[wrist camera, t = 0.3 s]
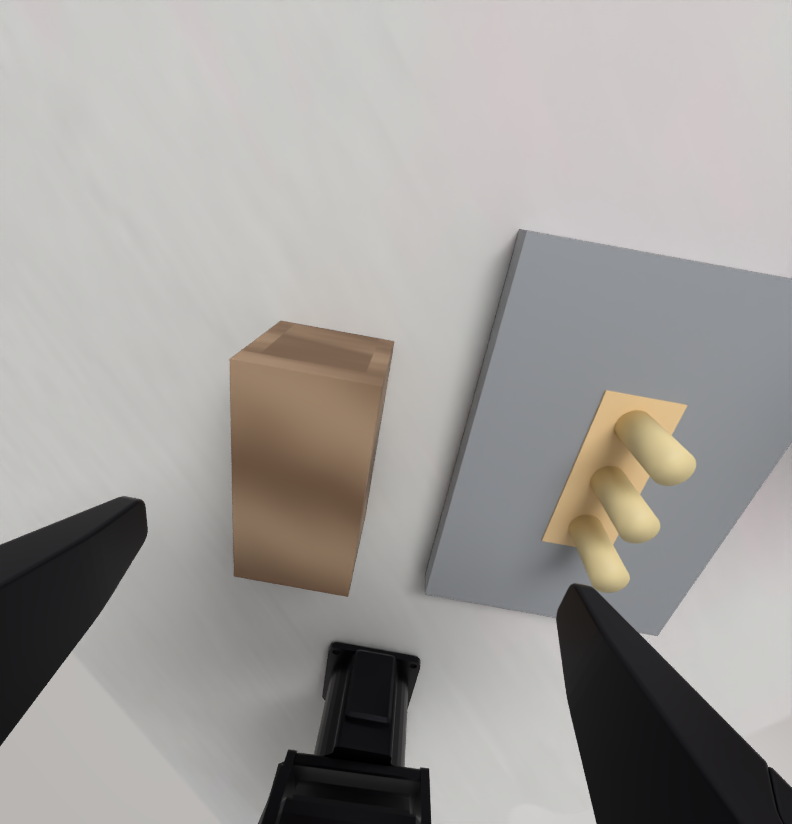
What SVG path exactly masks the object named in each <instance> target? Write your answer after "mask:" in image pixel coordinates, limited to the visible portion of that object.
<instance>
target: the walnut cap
mask: <svg viewBox="0 0 792 824" xmlns="http://www.w3.org/2000/svg"><path fill="white" fill-rule="evenodd" d="M393 346H394V341H389V340H384V339H378V338H373V337H367V336H362V335H356V334H351V333H345V332H340V331H334V330H329V329H323V328H318V327H312V326H307V325H301V324H296V323H290V322H285V321H280V322H279V323H277V324H276V325H275V326H273V327H272V328H271V329H269V330H268V331H266V332H265V333H264V334H262V335H261V336H260V337H258V338H257V339H256V340H254V341H253V342H252V343H250V344H249V345H248V346H246V347H245V348H244V349H242V350H241V351H240V352H238V353H237V354H236V355H234V356H233V357H232V358H230V403H231V454H232V504H233V554H234V576H235V577H241V578H246V579H252V580H257V581H263V582H268V583H274V584H280V585H285V586H291V587H296V588H302V589H308V590H313V591H319V592H324V593H330V594H335V595H341V596H347V597H348V595H349V590H350V585H351V581H352V576H353V571H354V567H355V562H356V557H357V553H358V548H359V543H360V539H361V534H362V529H363V525H364V520H365V515H366V509H367V503H368V497H369V491H370V485H371V479H372V472H373V466H374V460H375V454H376V448H377V442H378V436H379V430H380V424H381V418H382V412H383V406H384V400H385V394H386V388H387V382H388V376H389V370H390V364H391V358H392V352H393Z"/></svg>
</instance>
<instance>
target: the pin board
mask: <svg viewBox="0 0 792 824" xmlns="http://www.w3.org/2000/svg"><path fill="white" fill-rule="evenodd" d="M791 442H792V279H790V278H785V277H779V276H774V275H768V274H763V273H757V272H752V271H746V270H741V269H735V268H730V267H724V266H719V265H713V264H708V263H702V262H697V261H691V260H686V259H680V258H675V257H669V256H664V255H659V254H653V253H648V252H642V251H637V250H631V249H626V248H620V247H615V246H609V245H604V244H598V243H593V242H587V241H582V240H576V239H571V238H565V237H560V236H554V235H549V234H543V233H538V232H532V231H527V230H521V229H519V233H518V236H517V240H516V244H515V247H514V251H513V255H512V259H511V262H510V266H509V270H508V273H507V277H506V281H505V284H504V288H503V292H502V295H501V299H500V303H499V306H498V310H497V314H496V317H495V321H494V325H493V328H492V332H491V336H490V339H489V343H488V347H487V350H486V354H485V358H484V361H483V365H482V369H481V372H480V376H479V380H478V383H477V387H476V391H475V394H474V398H473V402H472V405H471V409H470V413H469V416H468V420H467V424H466V427H465V431H464V435H463V438H462V442H461V446H460V449H459V453H458V457H457V460H456V464H455V468H454V471H453V475H452V479H451V482H450V486H449V490H448V493H447V497H446V501H445V504H444V508H443V512H442V515H441V519H440V523H439V526H438V530H437V534H436V537H435V541H434V545H433V548H432V552H431V556H430V559H429V563H428V567H427V570H426V574H425V594H426V595H431V596H437V597H442V598H448V599H453V600H459V601H465V602H470V603H476V604H481V605H487V606H492V607H498V608H504V609H509V610H515V611H520V612H526V613H532V614H537V615H543V616H548V617H554V618H556V615H557V610H558V607H559V605H560V603H561V601H562V599H563V597H564V595H565V593H566V591H567V589H568V587H569V586H570V585H571V584H573V583H577V584H583V585H588V586H591V587H593V588H594V589H595V590H597V591H598V592H599V593H600V594H601V595H602V596H603V598H604V599H605V600H606V601H607V602H608V603H609V604H610V605H611V606H612V607H613V608H614V609H615V610H616V611H617V612H618V613H619V614H620V615H621V616H622V617H623V618H624V619H625V620H626V621H627V622H628V623H629V624H630V625H631V626H632V627H633V628H634V629H635V630H636V631H637V632H638V633H643V634H649V635H654V636H658V635H659V633H660V632H661V630H662V629H663V627H664V626H665V624H666V623H667V622H668V620H669V619H670V617H671V616H672V614H673V613H674V611H675V610H676V609H677V607H678V606H679V604H680V603H681V601H682V600H683V598H684V597H685V596H686V594H687V593H688V591H689V590H690V588H691V587H692V585H693V584H694V583H695V581H696V580H697V578H698V577H699V575H700V574H701V572H702V571H703V569H704V568H705V567H706V565H707V564H708V562H709V561H710V559H711V558H712V556H713V555H714V554H715V552H716V551H717V549H718V548H719V546H720V545H721V543H722V542H723V541H724V539H725V538H726V536H727V535H728V533H729V532H730V530H731V529H732V528H733V526H734V525H735V523H736V522H737V520H738V519H739V517H740V516H741V515H742V513H743V512H744V510H745V509H746V507H747V506H748V504H749V503H750V502H751V500H752V499H753V497H754V496H755V494H756V493H757V491H758V490H759V489H760V487H761V486H762V484H763V483H764V481H765V480H766V478H767V477H768V476H769V474H770V473H771V471H772V470H773V468H774V467H775V465H776V464H777V463H778V461H779V460H780V458H781V457H782V455H783V454H784V452H785V451H786V450H787V448H788V447H789V445H790V444H791Z"/></svg>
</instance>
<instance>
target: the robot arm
mask: <svg viewBox="0 0 792 824" xmlns="http://www.w3.org/2000/svg"><path fill="white" fill-rule="evenodd" d="M147 532H148V527H147V517H146V507H145V503H144V501H143V500H141V499H137V498H132V497H127V496H122V497H118V498H116V499H113V500H111V501H108V502H106V503H103V504H101V505H98V506H96V507H93V508H91V509H88V510H86V511H83V512H81V513H78V514H76V515H73V516H71V517H68V518H66V519H63V520H61V521H58V522H56V523H53V524H51V525H48V526H46V527H43V528H41V529H38V530H36V531H33V532H31V533H28V534H26V535H23V536H21V537H18V538H16V539H13V540H11V541H8V542H6V543H3V544H1V545H0V746H1V745H2V743H3V742H4V741H5V739H6V738H7V737H8V735H9V734H10V732H11V731H12V730H13V728H14V727H15V726H16V725H17V723H18V722H19V721H20V719H21V718H22V717H23V715H24V714H25V713H26V711H27V710H28V709H29V707H30V706H31V705H32V703H33V702H34V701H35V699H36V698H37V697H38V695H39V694H40V693H41V691H42V690H43V689H44V687H45V686H46V685H47V683H48V682H49V681H50V679H51V678H52V677H53V675H54V674H55V673H56V671H57V670H58V669H59V667H60V666H61V665H62V663H63V662H64V661H65V659H66V658H67V657H68V655H69V654H70V653H71V651H72V650H73V649H74V647H75V646H76V645H77V643H78V642H79V641H80V639H81V638H82V637H83V635H84V634H85V633H86V631H87V630H88V629H89V628H90V626H91V625H92V624H93V622H94V621H95V619H96V618H97V617H98V615H99V614H100V612H101V611H102V610H103V608H104V607H105V605H106V603H107V602H108V600H109V599H110V597H111V596H112V594H113V592H114V591H115V589H116V587H117V586H118V584H119V583H120V581H121V579H122V578H123V576H124V574H125V573H126V571H127V569H128V568H129V566H130V565H131V563H132V561H133V560H134V558H135V556H136V555H137V553H138V551H139V550H140V548H141V547H142V545H143V543H144V541H145V539H146V537H147ZM556 622H557V630H558V637H559V644H560V652H561V659H562V666H563V674H564V681H565V688H566V694H567V700H568V705H569V709H570V714H571V718H572V722H573V726H574V731H575V735H576V739H577V743H578V747H579V752H580V756H581V760H582V764H583V768H584V773H585V777H586V781H587V785H588V790H589V794H590V798H591V802H592V806H593V810H594V815H595V819H596V823H597V824H792V787H791V786H790V785H789V784H788V783H787V782H786V781H785V780H784V779H783V778H782V777H781V776H780V775H779V774H778V773H777V772H776V771H775V770H774V769H773V768H771V767H768V765H767V763H766V761H765V760H764V759H763V758H762V757H761V756H760V755H759V754H758V753H757V752H756V751H755V750H754V749H753V748H752V747H751V746H750V745H749V744H748V743H747V742H746V741H745V740H744V739H743V738H742V737H741V736H740V735H739V734H738V733H737V732H736V731H735V730H734V729H733V728H732V727H731V726H730V725H729V724H728V723H727V722H726V721H725V720H724V719H723V718H722V717H721V716H720V715H719V714H718V713H717V712H716V711H715V710H714V709H713V708H712V707H711V706H710V705H709V704H708V703H707V702H706V701H705V700H704V699H703V698H702V697H701V696H700V695H699V694H698V692H697V691H696V690H695V689H694V688H693V687H692V686H691V685H690V684H689V683H688V682H687V681H686V680H685V679H684V678H683V677H682V676H681V675H680V674H679V673H678V672H677V671H676V670H675V669H674V668H673V667H672V666H671V665H670V664H669V663H668V662H667V661H666V660H665V659H664V658H663V657H662V656H661V655H660V654H659V653H658V652H657V651H656V650H655V649H654V648H653V647H652V646H651V645H650V644H649V643H648V642H647V641H646V640H645V639H644V638H643V637H642V636H641V635H640V634H639V633H638V632H637V631H636V630H635V629H634V628H633V627H632V626H631V625H630V624H629V623H628V622H627V621H626V620H625V619H624V618H623V617H622V616H621V615H620V614H619V613H618V612H617V611H616V610H615V609H614V608H613V607H612V606H611V605H610V604H609V603H608V602H607V601H606V600H605V599H604V598H603V596H602V595H601V594H600V593H599V592H598V591H597V590H595V589H594V588H593V587H591V586H588V585H583V584H577V583H573V584H571V585H570V586H569V587H568V589H567V591H566V593H565V595H564V597H563V599H562V601H561V603H560V605H559V607H558V610H557V615H556ZM419 670H420V659H419V658H418V657H415V656H410V655H405V654H399V653H394V652H388V651H382V650H377V649H371V648H366V647H360V646H355V645H349V644H343V643H338V642H334V643H332V644H331V645H330V648H329V653H328V660H327V668H326V675H325V682H324V689H323V696H322V697H323V699H324V700H326V701H325V705H324V710H323V715H322V719H321V724H320V729H319V733H318V738H317V742H316V747H315V752H314V755H311V754H304V753H297V751H296V750H288V752H287V755H286V758H285V761H284V762H282V763H280V764H278V767H277V771H276V775H275V778H274V782H273V786H272V789H271V792H270V795H269V798H268V801H267V804H266V806H265V808H264V811H263V813H262V815H261V818H260V820H259V822H258V824H431V806H430V779H429V768H421V767H420V769H415V768H407V767H404V766H405V745H406V724H407V709H408V705H409V702H410V699H411V696H412V693H413V689H414V686H415V683H416V680H417V676H418V673H419Z"/></svg>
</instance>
